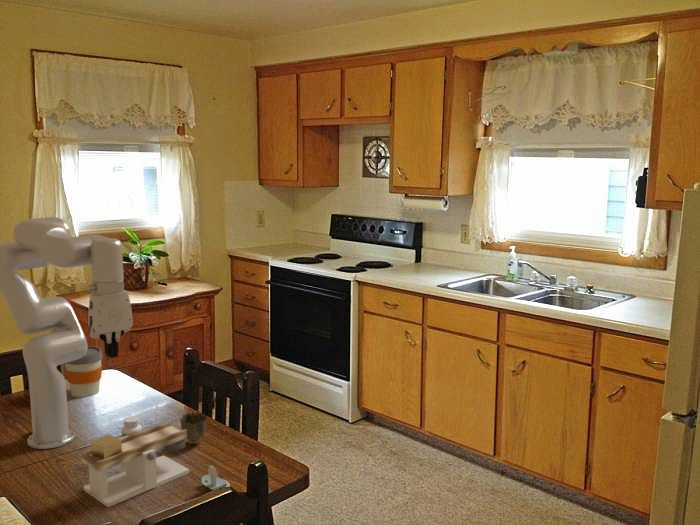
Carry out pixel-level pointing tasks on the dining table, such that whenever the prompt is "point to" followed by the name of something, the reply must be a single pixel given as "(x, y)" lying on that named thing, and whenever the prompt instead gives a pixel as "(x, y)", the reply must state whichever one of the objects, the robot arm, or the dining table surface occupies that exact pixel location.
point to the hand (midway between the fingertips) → (111, 356)
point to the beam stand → (133, 477)
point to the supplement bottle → (131, 426)
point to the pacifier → (213, 479)
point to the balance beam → (140, 445)
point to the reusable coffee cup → (85, 373)
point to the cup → (194, 427)
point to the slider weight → (105, 447)
